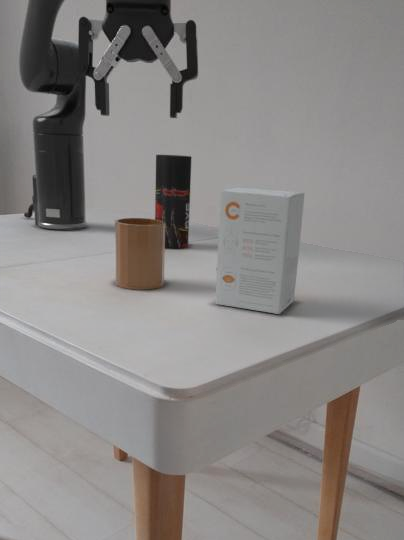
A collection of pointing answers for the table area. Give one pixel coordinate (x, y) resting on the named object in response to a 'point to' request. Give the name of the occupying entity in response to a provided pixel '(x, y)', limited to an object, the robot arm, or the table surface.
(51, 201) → the robot arm
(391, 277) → the table surface
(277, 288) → the small box
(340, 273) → the table surface
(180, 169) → the deodorant
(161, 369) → the table surface
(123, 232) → the cup
